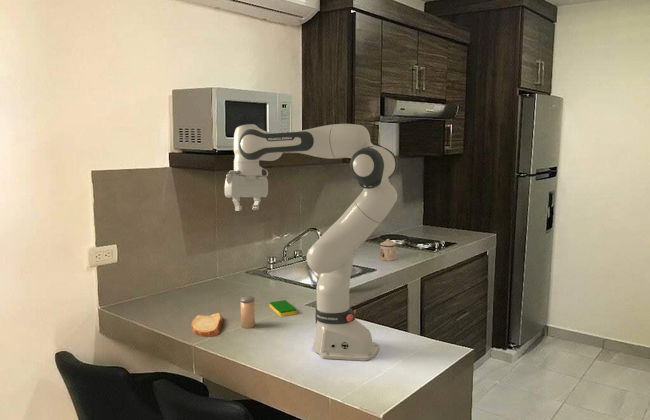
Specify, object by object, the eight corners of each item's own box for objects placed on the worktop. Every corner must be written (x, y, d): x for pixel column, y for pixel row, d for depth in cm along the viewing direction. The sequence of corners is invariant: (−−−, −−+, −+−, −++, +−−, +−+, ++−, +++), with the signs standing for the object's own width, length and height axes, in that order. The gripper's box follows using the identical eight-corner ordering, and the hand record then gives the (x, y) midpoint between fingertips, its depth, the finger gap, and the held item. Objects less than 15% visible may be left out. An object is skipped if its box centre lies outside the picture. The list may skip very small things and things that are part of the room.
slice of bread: (209, 339, 200) (209, 329, 199) (175, 330, 210) (174, 320, 209) (243, 324, 215) (242, 315, 214) (209, 316, 224) (209, 307, 224)
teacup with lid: (378, 257, 319) (378, 237, 317) (394, 257, 320) (394, 237, 318) (382, 262, 307) (382, 242, 305) (398, 262, 308) (399, 241, 306)
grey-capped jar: (257, 324, 214) (256, 296, 212) (251, 329, 208) (250, 301, 207) (245, 322, 215) (244, 295, 214) (238, 327, 210) (237, 299, 209)
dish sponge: (285, 305, 237) (285, 299, 237) (296, 314, 225) (296, 309, 225) (269, 307, 235) (269, 302, 234) (280, 317, 222) (280, 311, 222)
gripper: (234, 169, 184) (234, 211, 185) (270, 171, 202) (271, 209, 202) (219, 170, 187) (220, 211, 188) (257, 172, 205) (257, 209, 205)
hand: (247, 210), depth 195 cm, fingers open, 8 cm apart
